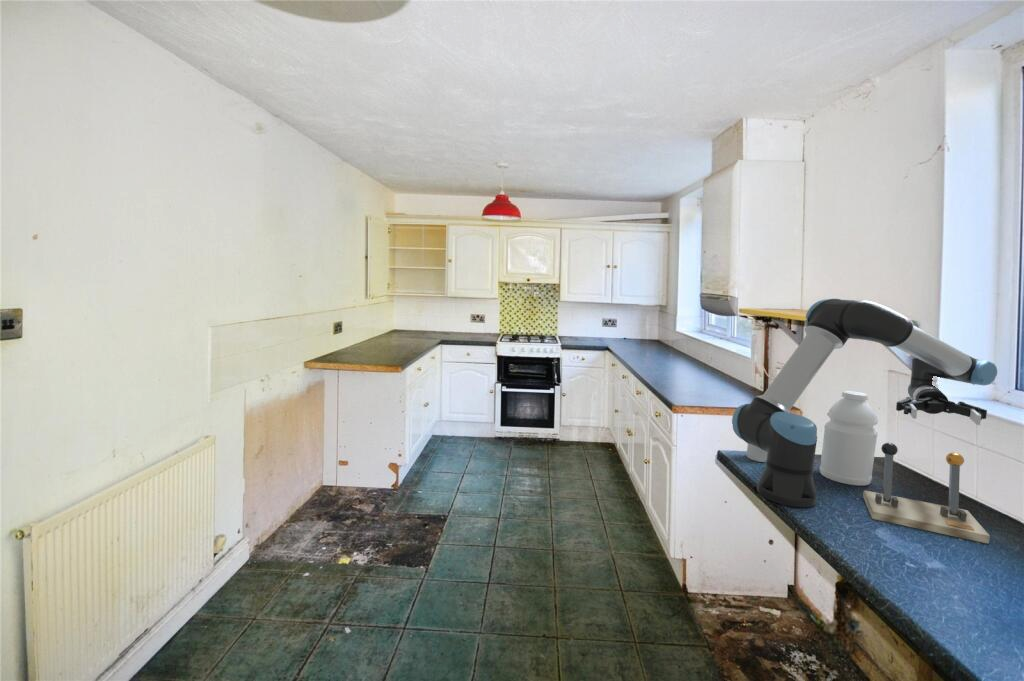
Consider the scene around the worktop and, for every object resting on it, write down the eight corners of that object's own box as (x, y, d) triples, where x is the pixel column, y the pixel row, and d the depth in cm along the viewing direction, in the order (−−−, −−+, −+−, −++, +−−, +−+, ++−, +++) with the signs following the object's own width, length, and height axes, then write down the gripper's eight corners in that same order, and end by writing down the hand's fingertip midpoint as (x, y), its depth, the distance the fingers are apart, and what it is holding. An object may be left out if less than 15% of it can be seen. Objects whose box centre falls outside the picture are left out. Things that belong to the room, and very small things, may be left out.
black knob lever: (879, 500, 132) (883, 441, 136) (877, 500, 136) (880, 442, 139) (896, 503, 131) (899, 443, 134) (893, 503, 134) (896, 444, 137)
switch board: (872, 518, 129) (874, 504, 128) (862, 496, 143) (864, 483, 142) (988, 543, 118) (991, 528, 117) (966, 517, 132) (968, 503, 131)
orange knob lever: (946, 513, 126) (948, 451, 129) (942, 513, 129) (944, 451, 132) (964, 517, 124) (966, 453, 127) (959, 516, 127) (961, 454, 130)
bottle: (833, 466, 167) (843, 386, 163) (879, 481, 155) (891, 395, 151) (810, 473, 160) (820, 389, 156) (857, 489, 148) (868, 399, 144)
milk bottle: (773, 464, 167) (780, 407, 165) (749, 461, 169) (755, 405, 166) (766, 456, 175) (772, 401, 172) (743, 454, 176) (749, 400, 174)
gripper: (982, 416, 149) (1005, 436, 131) (880, 406, 161) (889, 423, 144) (984, 392, 148) (1008, 409, 130) (882, 384, 160) (891, 399, 143)
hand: (946, 416), depth 137 cm, fingers open, 13 cm apart
